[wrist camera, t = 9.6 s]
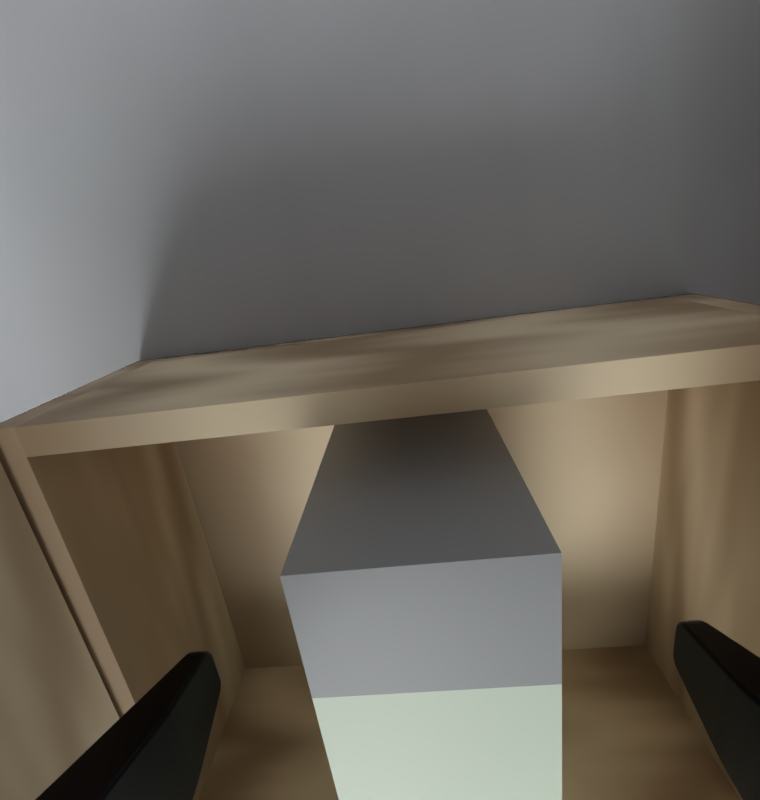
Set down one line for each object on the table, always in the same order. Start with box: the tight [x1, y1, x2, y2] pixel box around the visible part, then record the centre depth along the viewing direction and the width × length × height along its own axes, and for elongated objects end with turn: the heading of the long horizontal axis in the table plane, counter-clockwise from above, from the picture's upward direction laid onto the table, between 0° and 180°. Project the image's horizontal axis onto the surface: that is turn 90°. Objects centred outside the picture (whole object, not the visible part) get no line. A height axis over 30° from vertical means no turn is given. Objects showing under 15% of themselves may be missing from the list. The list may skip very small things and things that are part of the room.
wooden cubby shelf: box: [0, 294, 760, 800], centre depth 12 cm, size 19×24×8 cm
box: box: [280, 409, 562, 800], centre depth 11 cm, size 4×8×6 cm, turn 8°
